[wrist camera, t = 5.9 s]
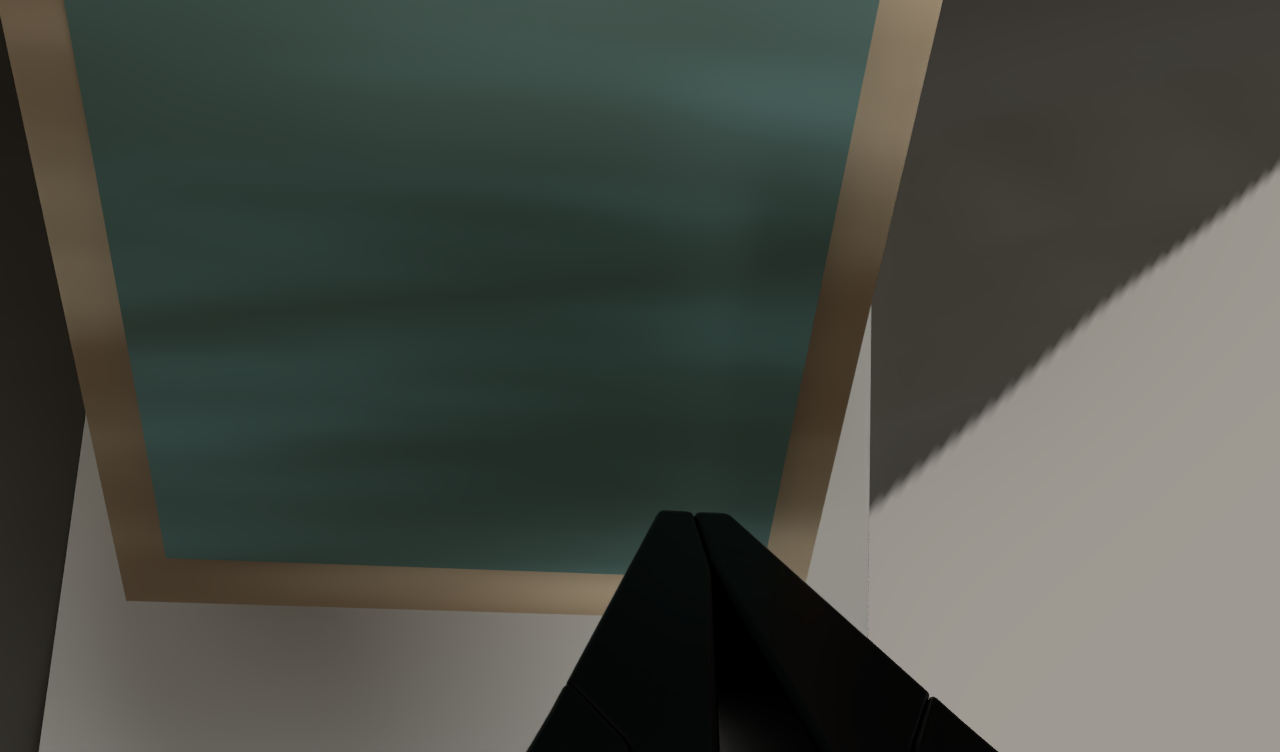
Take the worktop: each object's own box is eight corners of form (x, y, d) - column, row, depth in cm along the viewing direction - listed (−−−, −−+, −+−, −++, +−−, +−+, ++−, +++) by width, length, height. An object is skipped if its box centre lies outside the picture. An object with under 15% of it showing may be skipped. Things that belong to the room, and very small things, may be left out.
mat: (849, 1113, 14) (862, 1141, 14) (5, 1144, 13) (-21, 1175, 12) (861, 106, 17) (873, 92, 16) (157, 34, 15) (140, 17, 15)
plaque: (800, 632, 12) (979, -115, 8) (117, 612, 11) (-77, -256, 7) (764, 530, 15) (889, -89, 11) (198, 506, 14) (88, -191, 10)
